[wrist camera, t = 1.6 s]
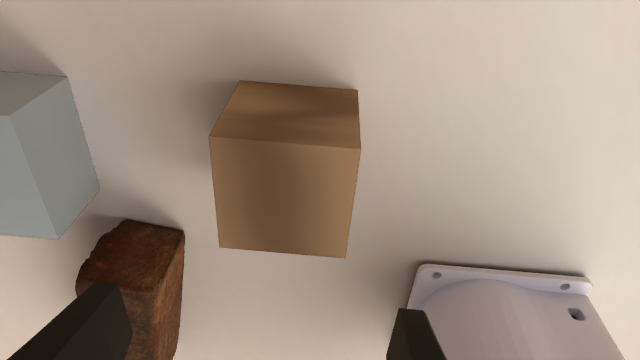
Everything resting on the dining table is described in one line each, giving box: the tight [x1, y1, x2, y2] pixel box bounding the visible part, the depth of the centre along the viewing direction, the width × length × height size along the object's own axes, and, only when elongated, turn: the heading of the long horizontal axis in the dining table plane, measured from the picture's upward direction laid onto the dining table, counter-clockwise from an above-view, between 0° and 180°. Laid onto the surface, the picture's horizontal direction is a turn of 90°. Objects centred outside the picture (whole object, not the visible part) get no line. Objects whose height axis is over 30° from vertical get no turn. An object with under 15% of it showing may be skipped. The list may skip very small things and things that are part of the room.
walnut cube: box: [209, 81, 361, 258], centre depth 17 cm, size 5×5×5 cm
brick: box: [75, 220, 185, 360], centre depth 24 cm, size 11×4×5 cm, turn 167°
